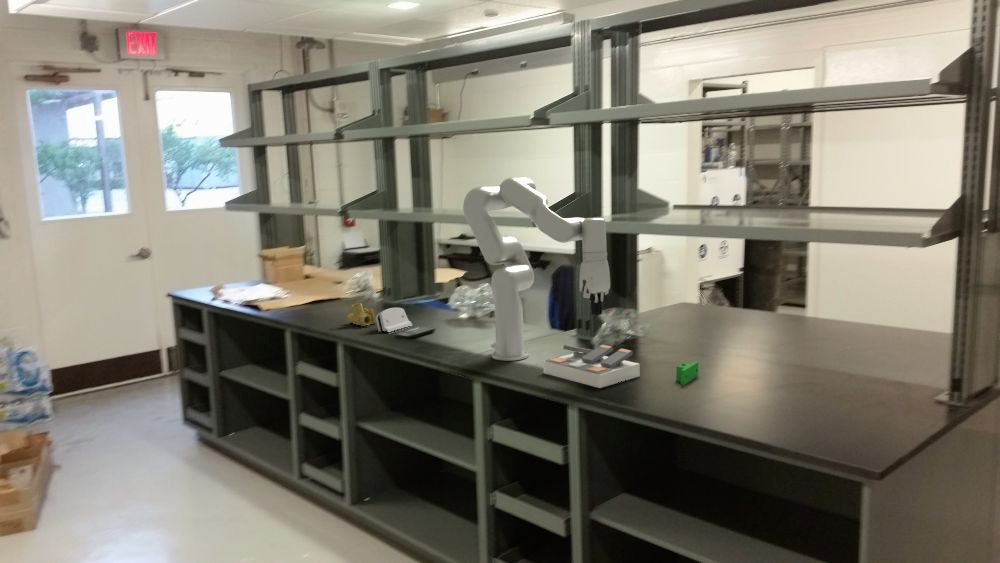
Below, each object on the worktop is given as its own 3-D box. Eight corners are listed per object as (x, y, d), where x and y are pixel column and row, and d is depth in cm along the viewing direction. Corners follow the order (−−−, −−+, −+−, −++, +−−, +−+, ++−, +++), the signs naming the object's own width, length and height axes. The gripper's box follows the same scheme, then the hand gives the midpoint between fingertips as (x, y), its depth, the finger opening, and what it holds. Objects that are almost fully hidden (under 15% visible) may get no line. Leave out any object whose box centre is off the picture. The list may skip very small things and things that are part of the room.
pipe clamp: (686, 375, 236) (686, 360, 235) (698, 376, 233) (698, 362, 233) (672, 383, 227) (672, 368, 226) (684, 385, 224) (684, 370, 224)
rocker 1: (563, 348, 244) (564, 344, 244) (584, 352, 250) (584, 348, 250) (573, 351, 240) (573, 346, 240) (594, 354, 247) (594, 350, 247)
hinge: (388, 333, 308) (380, 310, 309) (379, 336, 311) (372, 313, 311) (413, 326, 323) (405, 303, 323) (405, 328, 325) (397, 306, 326)
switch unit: (543, 373, 242) (543, 357, 241) (583, 362, 253) (583, 348, 252) (599, 388, 223) (599, 371, 223) (639, 376, 235) (639, 360, 234)
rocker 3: (601, 365, 232) (600, 361, 232) (622, 352, 238) (621, 348, 237) (611, 368, 229) (611, 364, 228) (632, 354, 235) (632, 350, 234)
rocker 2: (582, 361, 238) (581, 357, 238) (603, 347, 244) (602, 344, 244) (592, 363, 235) (591, 359, 234) (613, 350, 241) (612, 346, 240)
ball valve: (363, 330, 321) (382, 323, 328) (358, 306, 319) (377, 300, 326) (347, 328, 330) (366, 321, 337) (342, 305, 328) (361, 299, 335)
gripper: (601, 254, 248) (603, 309, 251) (569, 259, 239) (571, 316, 241) (619, 255, 243) (621, 312, 245) (587, 260, 233) (589, 319, 235)
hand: (596, 314), depth 243 cm, fingers closed
